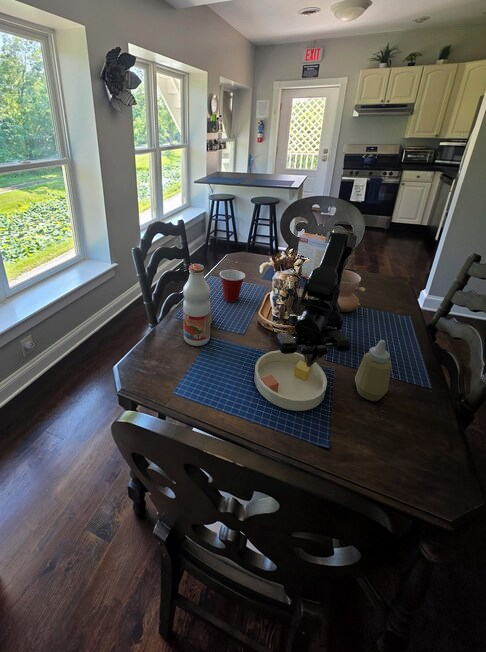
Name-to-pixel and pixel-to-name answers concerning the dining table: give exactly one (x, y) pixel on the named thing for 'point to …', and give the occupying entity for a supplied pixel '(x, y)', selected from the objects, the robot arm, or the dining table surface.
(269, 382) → the terracotta block
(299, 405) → the bowl
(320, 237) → the cracker box
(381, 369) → the squeeze bottle
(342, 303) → the ceramic jug
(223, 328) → the dining table surface
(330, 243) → the robot arm
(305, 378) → the mustard block
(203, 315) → the fruit juice
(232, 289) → the plastic cup
